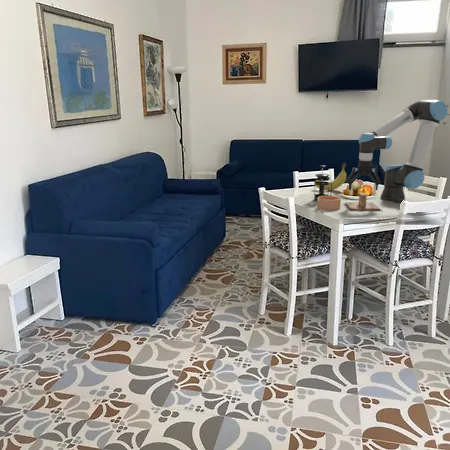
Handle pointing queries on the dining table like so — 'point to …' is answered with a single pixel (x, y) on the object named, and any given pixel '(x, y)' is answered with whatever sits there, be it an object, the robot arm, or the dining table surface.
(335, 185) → the banana
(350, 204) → the lid
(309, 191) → the dining table surface
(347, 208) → the mat
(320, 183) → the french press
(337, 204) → the bowl
